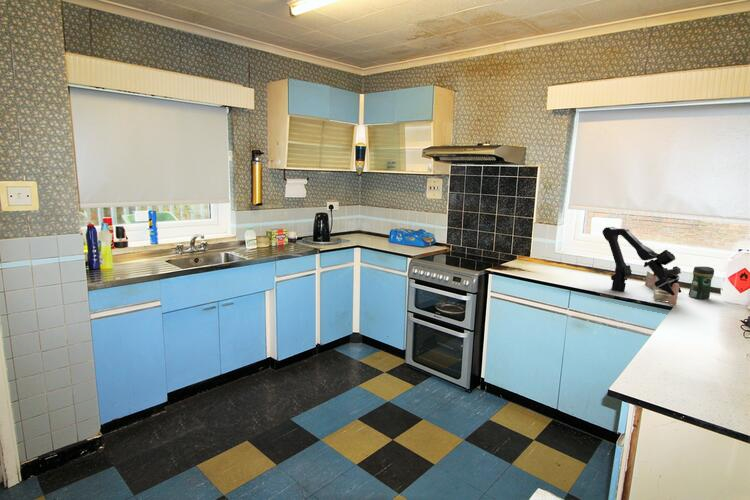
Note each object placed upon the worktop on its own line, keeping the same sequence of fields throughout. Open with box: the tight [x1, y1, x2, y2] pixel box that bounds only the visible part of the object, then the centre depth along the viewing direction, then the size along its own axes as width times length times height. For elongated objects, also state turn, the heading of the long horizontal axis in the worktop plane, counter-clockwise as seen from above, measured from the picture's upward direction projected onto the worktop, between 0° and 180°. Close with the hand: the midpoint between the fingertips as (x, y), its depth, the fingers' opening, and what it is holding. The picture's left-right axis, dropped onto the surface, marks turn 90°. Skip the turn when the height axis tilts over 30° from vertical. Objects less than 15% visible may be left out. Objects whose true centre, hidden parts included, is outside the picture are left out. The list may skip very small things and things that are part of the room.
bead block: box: [653, 290, 671, 303], centre depth 242 cm, size 9×9×4 cm
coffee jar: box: [688, 266, 715, 300], centre depth 248 cm, size 10×8×19 cm
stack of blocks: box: [644, 270, 672, 291], centre depth 260 cm, size 21×6×12 cm, turn 169°
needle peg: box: [668, 282, 680, 305], centre depth 233 cm, size 3×3×12 cm
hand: (677, 293), depth 232 cm, fingers open, 9 cm apart
